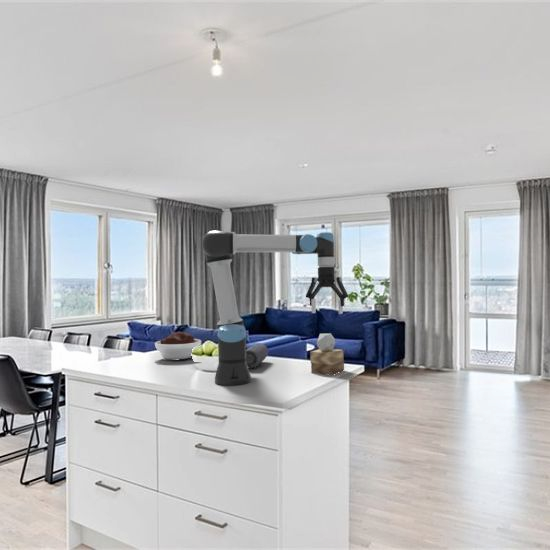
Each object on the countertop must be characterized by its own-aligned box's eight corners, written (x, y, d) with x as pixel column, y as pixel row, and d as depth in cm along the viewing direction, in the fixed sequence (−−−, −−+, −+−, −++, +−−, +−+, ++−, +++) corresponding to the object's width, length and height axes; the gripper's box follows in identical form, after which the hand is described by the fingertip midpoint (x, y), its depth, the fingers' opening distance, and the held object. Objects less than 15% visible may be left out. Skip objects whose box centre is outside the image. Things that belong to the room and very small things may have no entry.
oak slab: (310, 362, 219) (310, 351, 219) (322, 359, 229) (322, 348, 229) (332, 364, 213) (332, 353, 213) (343, 360, 222) (343, 349, 222)
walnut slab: (311, 373, 219) (311, 362, 219) (322, 369, 229) (322, 359, 229) (333, 376, 213) (333, 364, 213) (344, 371, 223) (343, 360, 223)
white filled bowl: (145, 361, 259) (144, 333, 259) (173, 354, 282) (172, 328, 282) (185, 364, 250) (184, 334, 250) (210, 356, 272) (209, 329, 273)
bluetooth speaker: (251, 361, 252) (251, 342, 252) (269, 361, 250) (268, 342, 250) (239, 370, 230) (239, 349, 230) (259, 370, 228) (258, 349, 228)
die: (330, 354, 215) (340, 335, 218) (313, 344, 216) (323, 326, 219) (328, 358, 223) (338, 340, 226) (311, 348, 224) (321, 331, 227)
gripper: (354, 265, 218) (355, 313, 218) (305, 267, 231) (306, 312, 231) (348, 265, 211) (349, 314, 211) (298, 267, 225) (298, 313, 225)
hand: (327, 313), depth 221 cm, fingers open, 13 cm apart
